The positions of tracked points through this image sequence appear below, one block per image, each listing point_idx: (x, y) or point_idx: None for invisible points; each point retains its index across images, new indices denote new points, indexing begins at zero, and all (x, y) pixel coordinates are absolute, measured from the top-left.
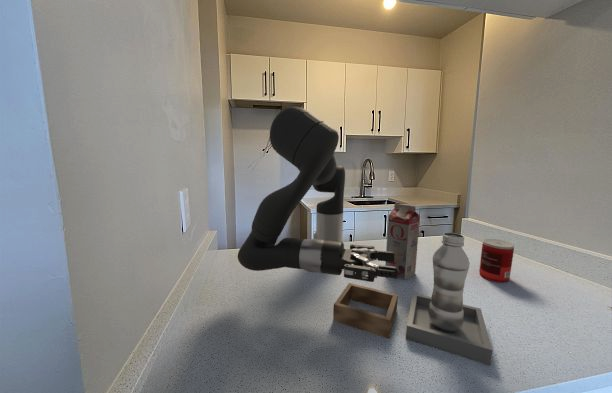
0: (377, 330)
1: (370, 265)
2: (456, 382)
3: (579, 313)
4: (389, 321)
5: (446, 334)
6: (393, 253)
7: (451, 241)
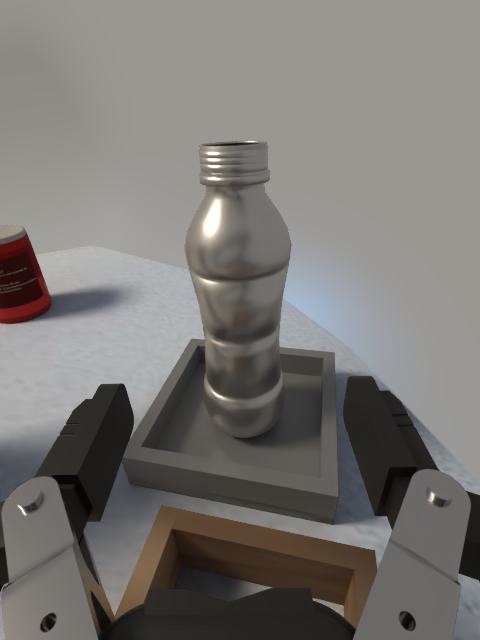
0: None
1: (465, 533)
2: (419, 433)
3: (154, 273)
4: (374, 555)
5: (326, 406)
6: (121, 384)
7: (265, 162)
